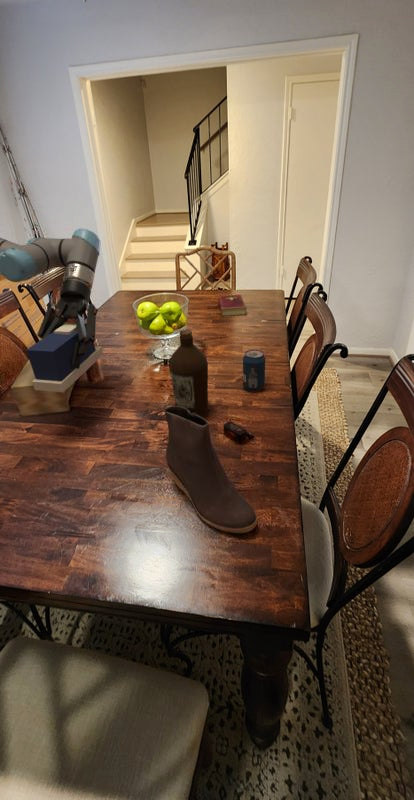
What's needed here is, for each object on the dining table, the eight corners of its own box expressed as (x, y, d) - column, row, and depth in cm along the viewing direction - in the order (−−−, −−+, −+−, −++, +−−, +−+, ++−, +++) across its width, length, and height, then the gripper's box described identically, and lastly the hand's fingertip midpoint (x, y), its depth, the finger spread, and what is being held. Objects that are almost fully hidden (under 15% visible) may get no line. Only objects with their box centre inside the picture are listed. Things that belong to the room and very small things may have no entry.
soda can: (258, 380, 123) (258, 347, 117) (268, 389, 118) (269, 355, 111) (239, 384, 121) (239, 351, 115) (248, 394, 116) (249, 360, 109)
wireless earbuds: (242, 446, 94) (242, 436, 93) (222, 435, 99) (222, 425, 97) (254, 438, 97) (254, 428, 95) (234, 427, 101) (234, 417, 100)
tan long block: (21, 416, 112) (10, 387, 106) (45, 371, 137) (37, 346, 132) (69, 411, 113) (60, 382, 108) (83, 367, 138) (77, 342, 133)
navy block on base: (63, 392, 91) (51, 350, 85) (34, 390, 92) (20, 348, 86) (103, 354, 109) (95, 317, 103) (78, 352, 110) (69, 316, 104)
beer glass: (91, 387, 124) (80, 346, 116) (82, 380, 129) (72, 340, 121) (109, 380, 128) (101, 340, 120) (100, 374, 133) (92, 334, 125)
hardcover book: (221, 316, 178) (221, 308, 176) (218, 303, 196) (218, 295, 194) (246, 315, 178) (246, 306, 176) (241, 301, 196) (241, 294, 194)
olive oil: (186, 398, 115) (179, 322, 102) (216, 406, 111) (213, 327, 98) (167, 416, 108) (157, 335, 94) (199, 425, 103) (192, 342, 90)
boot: (237, 550, 69) (236, 469, 58) (157, 486, 84) (145, 413, 73) (266, 522, 74) (270, 443, 63) (186, 467, 89) (178, 395, 78)
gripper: (34, 277, 98) (14, 358, 94) (106, 278, 94) (89, 363, 89) (51, 291, 105) (33, 368, 101) (118, 293, 101) (103, 373, 97)
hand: (59, 365), depth 95 cm, fingers closed on navy block on base, 8 cm apart
